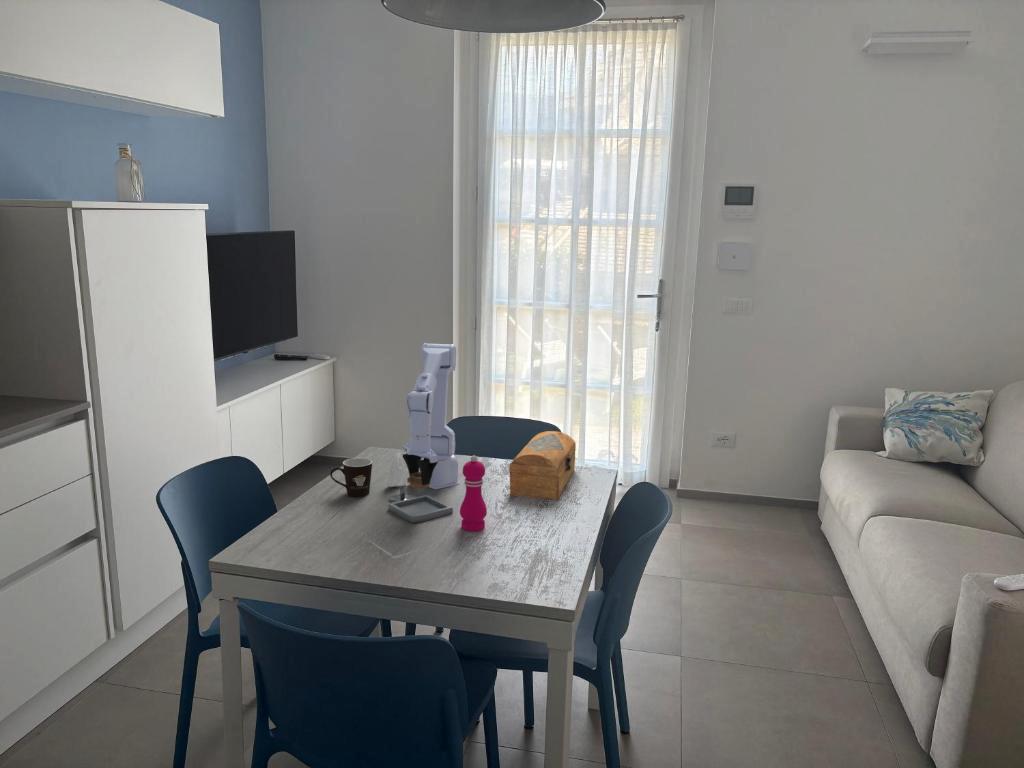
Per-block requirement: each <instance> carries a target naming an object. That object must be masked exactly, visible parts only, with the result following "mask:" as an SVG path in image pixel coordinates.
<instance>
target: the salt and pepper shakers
mask: <svg viewBox="0 0 1024 768" xmlns="http://www.w3.org/2000/svg"><path fill="white" fill-rule="evenodd" d="M421 460H424V458H422V457H421ZM403 464H404V463H403V455H402V453H401V452H398V453H395V454H394V456H393V457H392V461H391V463H390V464H389V465H390V466H389V472H388V480H387V483H386V485H387V487H389V488H397V486H398V485H402V483H403V472H404V465H403ZM419 472H420V468H419ZM407 486H409V483H408V485H407ZM409 487H410V486H409Z"/></svg>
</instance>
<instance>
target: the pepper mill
mask: <svg viewBox="0 0 1024 768" xmlns="http://www.w3.org/2000/svg"><path fill="white" fill-rule="evenodd" d="M485 474H486V467H485V465H484V463H482V462H481V461H480V460H478V456H477V455H471V457H470V460H469V461H467V462H466V463H464V465H463V467H462V475H463V476H464V485H465V496H464V498H463V501H462V502H461V505H460V508H459V514H460V515H459V516H460V517H461V518H462V519H461V525H460V526H461V529H463V531H467V532H480V531H483V530H484V529H485V527H486V524H485V523H486V520H485V518H486V516H487V515H488V508H487V505H486V502H485V500H484V498H483V494H482V486H483V485H484V478H483V477H485Z"/></svg>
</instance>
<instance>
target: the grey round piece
mask: <svg viewBox="0 0 1024 768" xmlns="http://www.w3.org/2000/svg"><path fill="white" fill-rule="evenodd" d="M406 487H407V485H406V484H405V483H403V484H402V483H401V485H398V486H397V487H396V488H397V489H399V494H395V495H391V496H390V497H389V498H388V502H389V503H394V502H398V501H403V500H407V499H411V498H415V497H416V496H415V495H412V494H406Z"/></svg>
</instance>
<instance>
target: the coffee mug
mask: <svg viewBox="0 0 1024 768" xmlns="http://www.w3.org/2000/svg"><path fill="white" fill-rule="evenodd" d="M342 466H343V468H341V467H335V468H333V469H332V470H330V472H329V473H330V474H329V475H330V478H331V479H332V480H333V481H334V482H335V483H337V484H338V485H340V486H342V487H344V488H345V490H346V493H347V494H346V495H347V496H348V497H350V498H365V497H366V496H369V495H370V490H371V489H370V488H371V479H372V472H373V471H372V470H373V460H372V459H369V458H367V457H364V458H363V457H356V458H355V457H354V458H353V457H352V458H348V459H345V460H344V461H342ZM337 470H338V471H340V472H341V473H342V474H343V475H344V481H345V484H344V483H343V482H341V481H338V480H337V479H335V478H334V477H333V473H334V471H337Z"/></svg>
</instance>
